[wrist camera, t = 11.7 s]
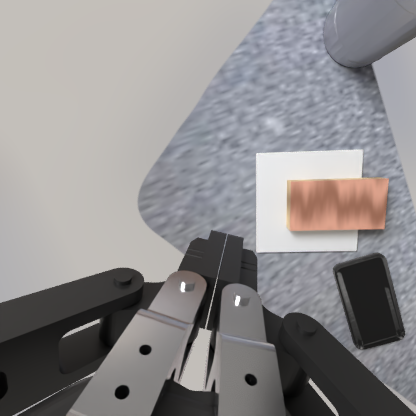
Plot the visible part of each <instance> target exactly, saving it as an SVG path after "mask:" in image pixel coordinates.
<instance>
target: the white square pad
mask: <svg viewBox="0 0 416 416" xmlns="http://www.w3.org/2000/svg"><path fill="white" fill-rule="evenodd" d="M362 163H363V150H335V151H306V152H278V153H256V252H317V251H357V239H358V230H309V231H290V230H289V229H288V228H287V227H286V214H287V180H307V179H341V178H362Z"/></svg>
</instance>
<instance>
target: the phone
mask: <svg viewBox="0 0 416 416" xmlns="http://www.w3.org/2000/svg"><path fill="white" fill-rule="evenodd" d="M356 259H357V260H356ZM356 259H352V260H349V261H346V262H342V263H339V264H337V265H335V266H334V268H333V274H334V277H335V281H336V284H337V288H338V291H339V294H340V298H341V301H342V305H343V308H344V312H345V315H346V318H347V322H348V325H349V329H350V332H351V336H352V339H353V342H354V344H355V346H356V347H357V348H358V349H361V350H363V349H368V348H372V347H375V346H379V345H383V344H387V343H391V342H395V341H398V340H401V339H402V338H403V337H404V336H405V330H404V327H403V323H402V319H401V315H400V311H399V307H398V303H397V299H396V295H395V291H394V287H393V284H392V280H391V276H390V272H389V268H388V264H387V260H386V258H385V256H383V255H382V254H380V253H372V254H369V255H366V256H362V257H359V258H356Z"/></svg>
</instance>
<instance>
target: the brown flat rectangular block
mask: <svg viewBox="0 0 416 416" xmlns="http://www.w3.org/2000/svg"><path fill="white" fill-rule="evenodd" d="M388 181H389V179H387V178H380V177H374V178H341V179H307V180H287V214H286V227H287V228H288V229H289V230H290V231H309V230H358V229H385V217H386V205H387V193H388Z"/></svg>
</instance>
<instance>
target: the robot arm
mask: <svg viewBox="0 0 416 416" xmlns="http://www.w3.org/2000/svg"><path fill="white" fill-rule="evenodd" d="M323 36H324V43H325V46H326V49H327V51H328V52H329V54H330V55H331V57H332V58H333V59H334V60H335V61H336V62H338V63H340V64H342V65H344V66H347V67H355V68H357V67H364V66H367V65H369V64H372V63H373V62H375V61H377V60H379V59H381V58H382V57H383V56H385V55H386V54H388V53H390V52H392V51H393V50H395V49H397V48H398V47H400V46H401V45H403V44H405V43H406V42H408V41H410V40H411V39H413V38H415V37H416V0H336V3H335V5H334V6H333V8H332V9H331V10H330V12H329V14H328V16H327V18H326V21H325V25H324V34H323ZM226 235H227V234H226V233H222V232H217V231H213V230H211V233H210V236H209V239H208V240H206V239H202V238H196V239H195V240H193V241H192V242H191V243H190V245H189V247H188V249H187V251H186V254H185V256H184V258H183V260H182V262H181V264H180V266H179V269H178V271H177V272H174V273H172V274H171V275H170V276H169V277H168V279H167V280H166V281H164V282H159V283H149V282H144V278H143V276H142V274H141V273H140V272H138V271H136V270H134V269H130V268H116V269H112V270H109V271H105V272H102V273H99V274H95V275H92V276H89V277H86V278H82V279H79V280H76V281H72V282H69V283H65V284H62V285H59V286H55V287H52V288H49V289H45V290H42V291H39V292H36V293H32V294H29V295H26V296H22V297H19V298H16V299H12V300H9V301H6V302H2V303H0V416H12V415H15V414H16V413H18V412H20V411H22V410H24V409H26V408H28V407H30V406H31V405H33V404H35V403H37V402H39V401H41V400H43V399H44V398H46V397H48V396H50V395H52V394H54V393H56V392H58V391H59V390H61V389H63V388H65V387H66V388H65V389H63V390H61V391H59V392H58V393H56V394H54V395H52V396H51V397H49V398H47V399H45V400H44V401H42V402H40V403H39V404H37V405H35V406H33V407H31V408H30V409H28V410H26V411H24V412H23V413H21V414H19V415H17V416H336V415H335V414H334V413H333V412H332V411H331V409H330V408H329V407H328V406H327V404H326V403H325V402H324V401H323V400H322V398H321V397H320V396H319V395H318V394H317V392H316V391H315V390H314V389H313V388H312V386H311V385H310V384H309V383H308V381H309V379H310V378H311V379H312V381H313V382H314V383H315V384H316V385H317V387H318V388H319V389H320V390H321V391H322V392H323V394H324V395H325V396H326V397H327V398H328V400H329V401H330V402H331V403H332V404H333V406H334V407H335V408H336V410H337V412H338V414H339V416H416V414H414V413H413V412H412V411H411V410H410V409H409V408H408V407H407V406H406V405H405V404H404V403H403V402H402V401H401V400H400V399H399V398H398V397H397V396H395V395H394V394H393V393H392V392H391V391H390V390H389V389H388V388H387V387H386V386H385V385H384V384H383V383H382V382H381V381H380V380H379V379H378V378H377V377H376V376H374V375H373V374H372V373H371V372H370V371H369V370H368V369H367V368H366V367H365V366H364V365H363V364H362V363H361V362H360V361H359V360H358V359H357V358H355V357H354V356H353V355H352V354H351V353H350V352H349V351H348V350H347V349H346V348H345V347H344V346H343V345H342V344H341V343H340V342H339V341H338V340H337V339H335V338H334V337H333V336H332V335H331V334H330V333H329V332H328V331H327V330H326V329H325V328H324V327H323V326H322V325H321V324H320V323H318V322H317V321H316V320H315V319H313V318H311V317H310V316H308V315H305V314H302V313H296V312H295V313H289V314H287V315H286V316H285V317H284V319H283V318H281V317H279V316H277V315H275V314H273V313H272V312H270V311H269V310H267V309H266V308H265V307H264V306H263V305H262V302H261V298H260V296H259V294H258V293H257V257H256V255H255V254H254V252H253V251H251V250H247V249H243V238H242V237H238V236H234V235H230V234H228V237H227V241H226V245H225V249H224V253H223V258H222V262H221V266H220V261H221V257H222V252H223V248H224V244H225V239H226ZM219 266H220V270H219ZM218 270H219V275H218V279H217V274H218ZM216 279H217V284H216V288H215V293H214V297H213V302H212V306H211V311H210V315H209V320H208V324H207V330H211V331H212V332H211V338H210V342H209V345H208V350H207V359H206V369H205V377H204V386H203V391H192V390H189V389H187V388H185V387H183V386H182V385H180V381H181V379H182V376H183V373H184V370H185V367H186V364H187V362H188V359H189V356H190V354H191V351H192V348H193V345H194V340H195V339H196V337H197V335H198V331H199V328H203V329H205V325H206V321H207V317H208V312H209V308H210V304H211V300H212V296H213V291H214V287H215V283H216ZM97 319H100V323H97V324H95V325H93V326H91V327H88V328H86V329H83V330H81V331H78V332H76V333H74V334H71V335H69V336H67V337H64V338H62V337H63V336H64V335H65V334H66V333H67V332H69V331H70V330H73V329H75V328H78V327H80V326H83V325H85V324H87V323H90V322H92V321H95V320H97ZM61 338H62V339H61ZM95 371H96V373H95V374H94V376H91V377H88V378H85V379H83V380H80V379H82V378H84V377H86V376H88V375H89V374H91V373H93V372H95ZM78 380H80V381H78ZM76 381H78V382H76ZM75 382H76V383H75ZM73 383H74V384H73ZM71 384H72V385H71ZM69 385H70V386H69ZM67 386H68V387H67Z"/></svg>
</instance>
